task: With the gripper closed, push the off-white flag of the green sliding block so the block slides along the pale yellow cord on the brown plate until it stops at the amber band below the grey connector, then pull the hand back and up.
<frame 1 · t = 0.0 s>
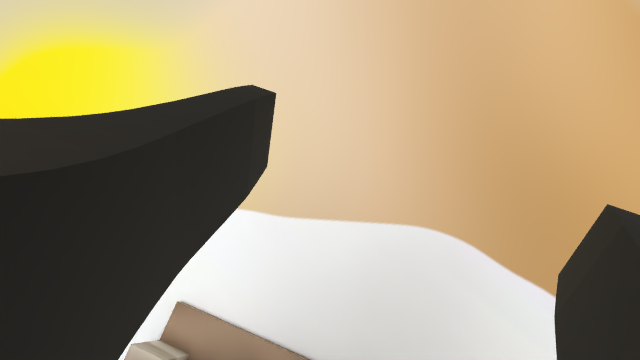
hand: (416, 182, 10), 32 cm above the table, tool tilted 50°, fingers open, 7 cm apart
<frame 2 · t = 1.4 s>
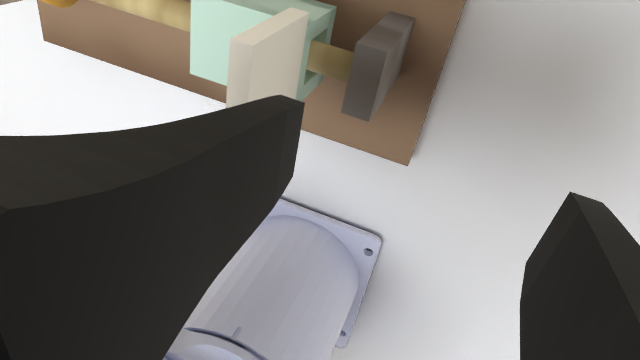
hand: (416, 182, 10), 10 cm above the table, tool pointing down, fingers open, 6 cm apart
green sliding block: (237, 55, 15), point 6 cm above the table, slide at 0.0 cm
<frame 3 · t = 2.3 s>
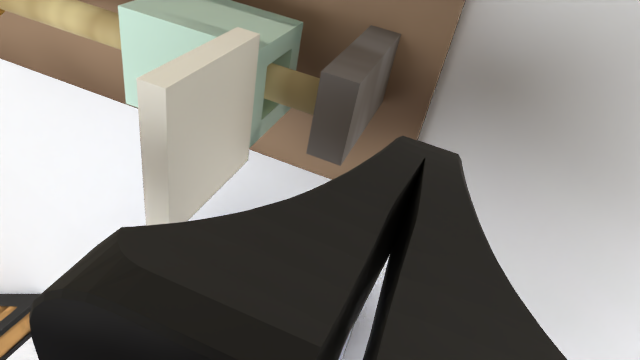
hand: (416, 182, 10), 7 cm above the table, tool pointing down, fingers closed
ammunition clip: (13, 300, 37), on the table
green sliding block: (176, 84, 12), point 6 cm above the table, slide at 0.0 cm
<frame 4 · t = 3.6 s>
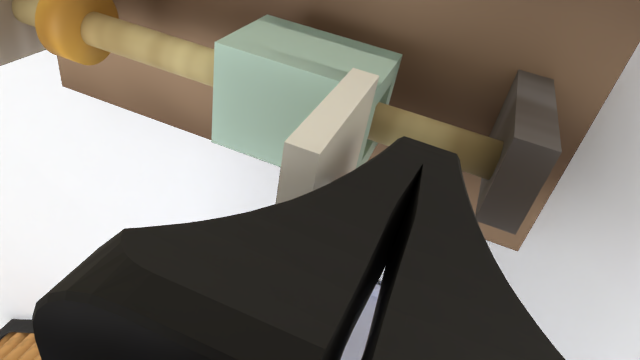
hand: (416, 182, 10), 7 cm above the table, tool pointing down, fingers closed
ammunition clip: (59, 327, 36), on the table
brown plate: (291, 30, 17), on the table
green sliding block: (277, 126, 11), point 6 cm above the table, slide at 1.6 cm, touching gripper
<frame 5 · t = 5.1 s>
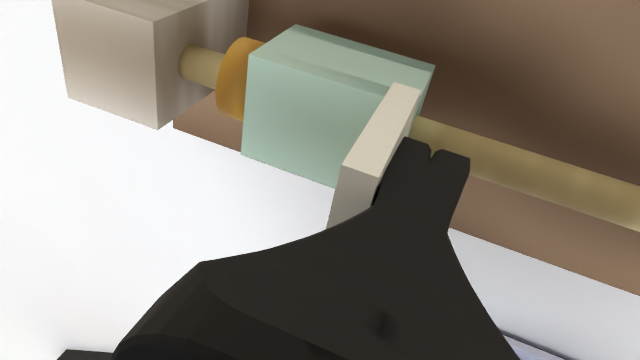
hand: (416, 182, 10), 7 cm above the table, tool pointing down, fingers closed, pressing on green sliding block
ammunition clip: (119, 359, 35), on the table
brown plate: (451, 79, 15), on the table
green sliding block: (312, 140, 11), point 6 cm above the table, slide at 6.5 cm, touching brown plate, gripper
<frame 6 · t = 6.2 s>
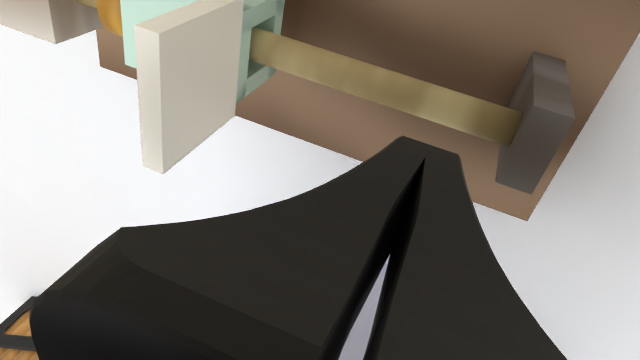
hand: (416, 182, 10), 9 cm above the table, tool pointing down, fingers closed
ammunition clip: (79, 304, 38), on the table
brown plate: (322, 15, 18), on the table
green sliding block: (170, 44, 13), point 6 cm above the table, slide at 6.3 cm
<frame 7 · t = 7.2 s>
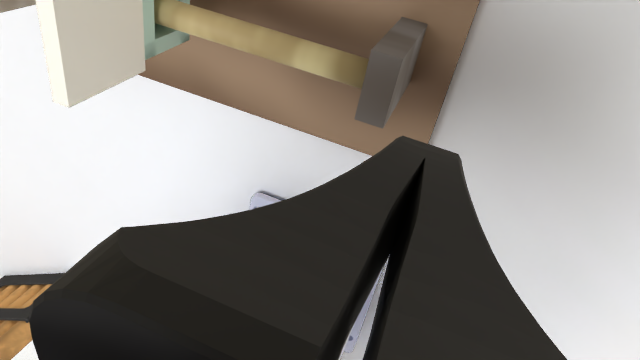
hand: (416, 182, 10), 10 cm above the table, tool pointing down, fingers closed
ammunition clip: (48, 281, 40), on the table
green sliding block: (86, 8, 16), point 6 cm above the table, slide at 6.3 cm
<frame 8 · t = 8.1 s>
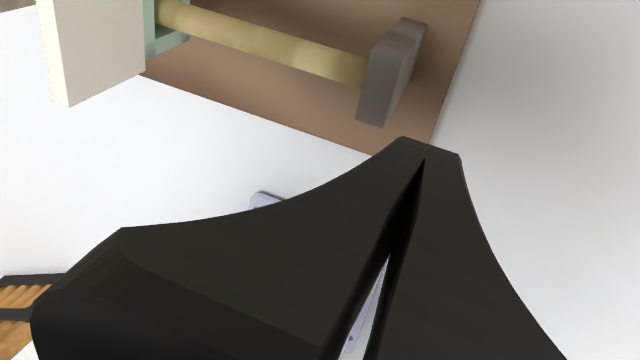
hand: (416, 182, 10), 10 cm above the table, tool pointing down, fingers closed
ammunition clip: (48, 281, 40), on the table
green sliding block: (86, 8, 16), point 6 cm above the table, slide at 6.3 cm
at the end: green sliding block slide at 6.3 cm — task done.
